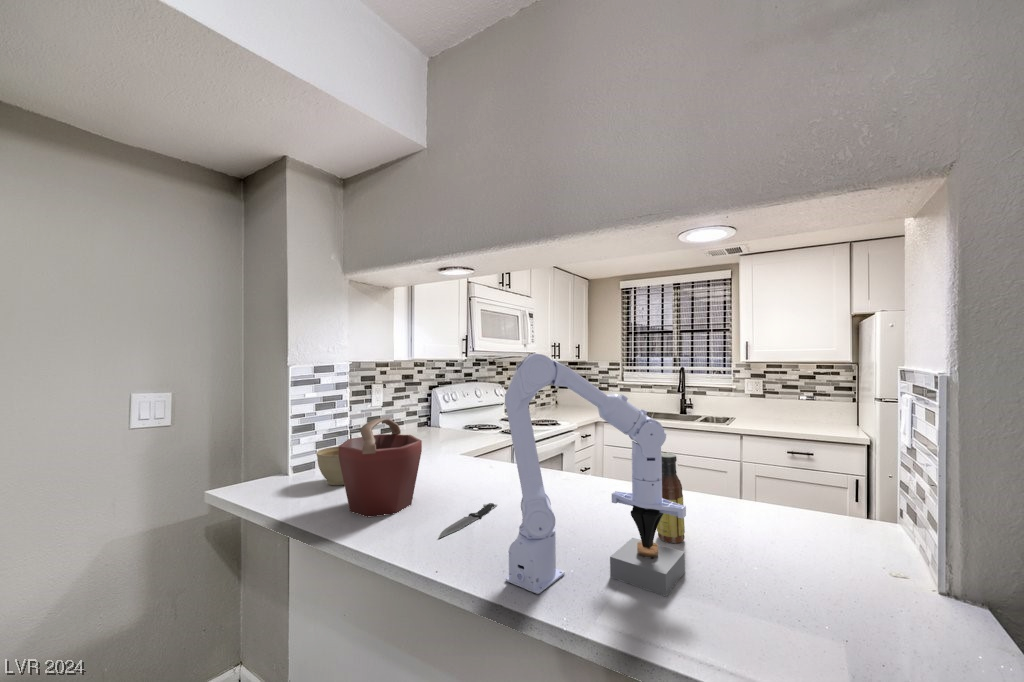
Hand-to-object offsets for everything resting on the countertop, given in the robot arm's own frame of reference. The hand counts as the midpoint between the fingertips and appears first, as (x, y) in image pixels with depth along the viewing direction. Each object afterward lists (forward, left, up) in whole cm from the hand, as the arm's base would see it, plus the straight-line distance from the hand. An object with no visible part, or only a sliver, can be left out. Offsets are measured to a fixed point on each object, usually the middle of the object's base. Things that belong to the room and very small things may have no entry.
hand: (647, 545), depth 87 cm
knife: (-2, +48, -6) cm, 48 cm away
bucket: (-10, +76, -6) cm, 77 cm away
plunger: (0, 0, -6) cm, 6 cm away
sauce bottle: (+19, +2, -6) cm, 20 cm away
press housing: (0, 0, -6) cm, 6 cm away
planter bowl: (-4, +106, -6) cm, 106 cm away
